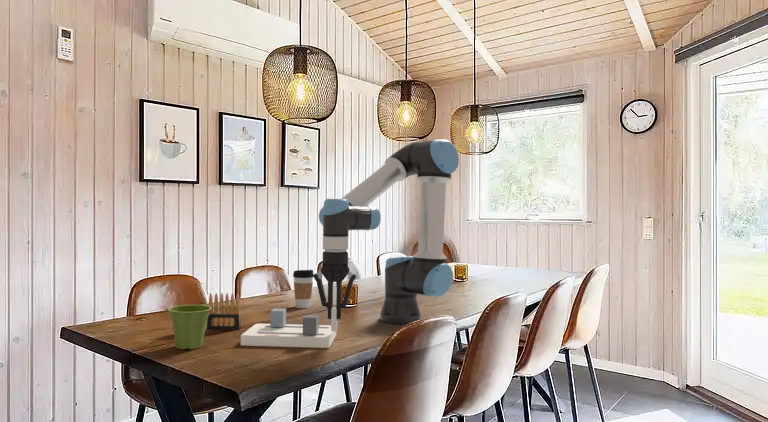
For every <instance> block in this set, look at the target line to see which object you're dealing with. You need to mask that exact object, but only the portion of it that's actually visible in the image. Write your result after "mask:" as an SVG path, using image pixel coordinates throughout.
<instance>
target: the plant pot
mask: <svg viewBox="0 0 768 422" xmlns="http://www.w3.org/2000/svg"><path fill="white" fill-rule="evenodd" d="M211 309H212V308H211V307H210V306H208V305H206V304H204V305H203V304H182V305H175V306H170V307H169V308H168V312H170V318H171V322H172V329H173V334H174V335H173V337H174V344H175V348H176V349H179V350H186V349H189V350H195V349H200V348H202V346H203V343H204V339H205V338H204V337H205V334H206V333H205V332H206V329H207V318H208V316H209V311H210V310H211Z"/></svg>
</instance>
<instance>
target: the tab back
mask: <svg viewBox="0 0 768 422" xmlns="http://www.w3.org/2000/svg"><path fill="white" fill-rule="evenodd" d="M269 314H270V320H269V321H270V322H269V324H270V327H284V326H285V325H286V324H287V308H273V309H271V310H270V313H269Z"/></svg>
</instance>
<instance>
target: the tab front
mask: <svg viewBox="0 0 768 422" xmlns="http://www.w3.org/2000/svg"><path fill="white" fill-rule="evenodd" d="M319 319H320V316H319V315H318V314H317V315H316V314H305V315H303V317H302V325H303V335H317V333H318V332H319V325H320V324H319V323H320V322H319V321H320V320H319Z"/></svg>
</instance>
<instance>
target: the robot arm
mask: <svg viewBox="0 0 768 422" xmlns="http://www.w3.org/2000/svg"><path fill="white" fill-rule="evenodd" d="M459 161H460V157H459V153H458V151H457V148H456V146H455V144H453V143H452V142H451V141H450V140H448V139H432V140H431V139H430V140H426V141H425V140H424V141H413V142H410V143H408V144H407V145H405V146H403V147H401V148H400V149H398V150H397V151H396V152H394V153H392V154H391V155H390V156H389V157H388V158H386V159H385V161H384V164H383V165H382V166H381V167H379V168H378V169H377V170H376V171H375V172H373V173H372V174H370V175H369V176H368V177H367V178H365V179H364V180H363V181H362V182H360V183H359V184H358V185H357V186H355V187H354V188H353V189H352V190H351V191H349V192H348V193H346V194H345V195H344V196H343V197H341V198H325V200H324V202H323V206H322V207H321V208H320V211H319V212H318V219H319V222H320V223H319V224H321V226H322V249H323V252H322V266H321V268H320V270H319V271H318V272H315V273H313V274H314V275H313V279H314V280H315V282H316V285H317V290H318V294H319V298H320V302H321V306H322V307H326V308H327V319H328V320H331V321H330V325H331V331H336V332H337V331H338V320H341V318H342V309H343V308H344V307H347V306H348V303H349V299H350V297H351V291H352V287H353V283H354V281H355V279H357V276H358V275H357V274H356V273H353V272H352V271H351V270H350V267H349V252H348V250H349V231H372V230H373V231H374V230H375V229H378V227H379V225H380V224H381V220H382V219H381V211H380V210H379V209H378V208H377V207H376V206H374V205H371V204H372V203H373V202H374V201H375V200H377V199H378V198H379V197H380V196H381V195H383V193H385V192H386V191H387V190H389V189H390V188H391V187H393V186H394V184H396V183H397V182H403V181H404V180H406V178H408V177H410V176H417V179H418V180H419V181H420V183H421V185H420V187H421V189H420V207H419V208H420V209H419V226H418V244H417V245H418V248H417V249H418V250H417V252H416V253H415V254H414V255H411V256H410V255H409V256H400V257H399V256H398V257H397V256H395V257H388V258H386V261H385V267H384V299H383V303H382V307H381V309H380V312H379V320H380V321H381V322H384V323H390V324H400V325H401V324H411V323H410V322H414V321H417V320H420V319H421V320H422V312H421V309H420V305H419V302H418V299H417V298H418V297H417V295H421V296H425V297H428V298H431V297H433V298H435V297H436V298H439V297H443V296H444V295H445V294H447V292H448V291H449V290H450V289H451V286H452V284H453V281H454V271H453V270H452V266H450V265H449V264H448V263H447V261H448V260H447V259H448V257H447V256H446V255H445V254H444V235H445V214H446V195H447V184H448V183H449V182H450V181H451V180H452V174H453V173H455V171H457V169H458V167H459V163H460V162H459ZM347 276H348V277H347ZM323 277H324V278H325V280H326V281H327V298H326V293H325V289H324V283H323V280H322V279H323ZM346 277H347V279H348V282H347V285H346V289H345V293H344V298H342V297H343V296H342V295H343V294H342V290H343V289H342V287H343V285H342V284H343V281H344V280H345V278H346ZM334 282H335V283H336V301H335V302H336V307H334V304H333V303H334ZM342 299H343V301H342Z"/></svg>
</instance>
